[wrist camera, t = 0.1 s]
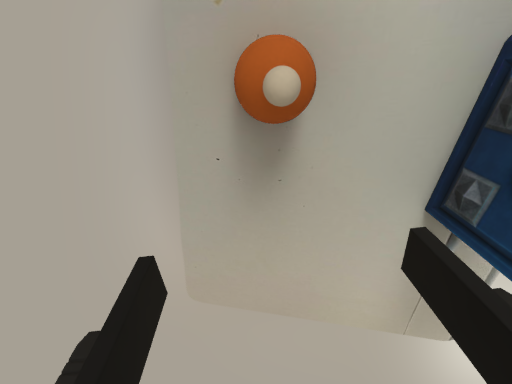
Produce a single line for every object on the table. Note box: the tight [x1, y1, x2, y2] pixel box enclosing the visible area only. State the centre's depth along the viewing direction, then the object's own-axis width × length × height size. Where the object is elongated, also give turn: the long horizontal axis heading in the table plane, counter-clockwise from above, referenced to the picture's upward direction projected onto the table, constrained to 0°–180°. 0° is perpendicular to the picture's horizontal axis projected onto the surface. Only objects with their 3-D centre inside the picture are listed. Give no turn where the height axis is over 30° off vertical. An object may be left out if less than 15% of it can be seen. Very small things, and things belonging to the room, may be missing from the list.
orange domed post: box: [234, 35, 316, 124], centre depth 23 cm, size 7×7×12 cm
